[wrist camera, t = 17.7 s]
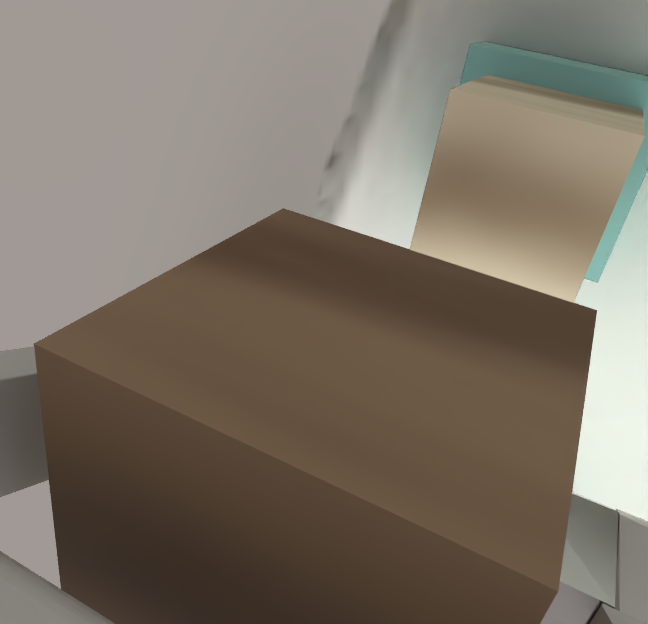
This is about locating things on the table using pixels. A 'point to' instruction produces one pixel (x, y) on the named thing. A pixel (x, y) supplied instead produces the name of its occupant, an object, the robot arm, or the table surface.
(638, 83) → the base brick
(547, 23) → the table surface
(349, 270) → the walnut block
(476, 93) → the beech block
